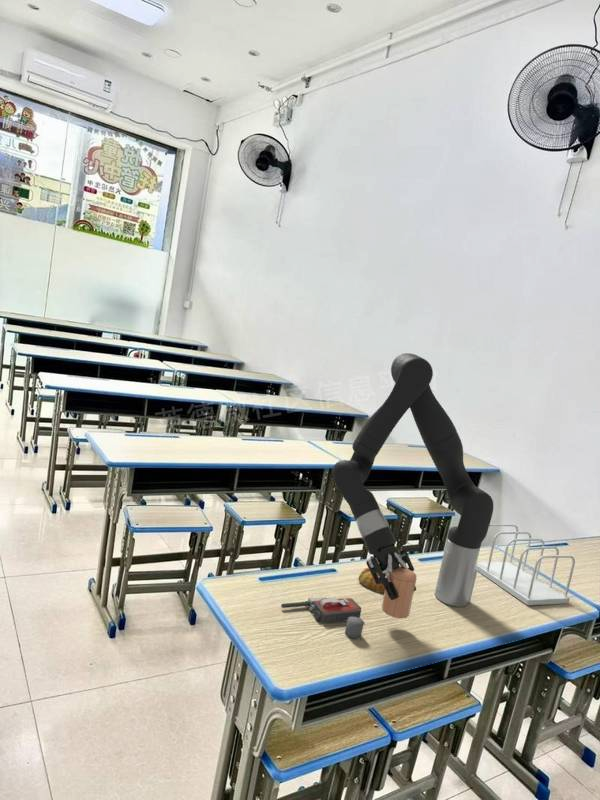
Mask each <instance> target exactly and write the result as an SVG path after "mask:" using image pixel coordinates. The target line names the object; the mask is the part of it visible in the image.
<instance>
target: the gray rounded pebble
mask: <svg viewBox="0 0 600 800" xmlns="http://www.w3.org/2000/svg"><path fill="white" fill-rule="evenodd" d="M364 624H365V623H364V621H363V619H361V617H360V618H358V617H349V618H348V620H347V621H346V626H345V631H344V634H345V636H346V637H347V638H349V639H351V640H359V639H362V633H363V628H364Z"/></svg>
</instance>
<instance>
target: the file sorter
mask: <svg viewBox="0 0 600 800" xmlns="http://www.w3.org/2000/svg"><path fill="white" fill-rule="evenodd" d="M489 527H514V528H515V530H516V531H499V532H497V533H496V534H495V535H494V537H493V538H492V539H493V540H492V544H491V548H490V552H489V558H488V561H477V564H476V568H475V570H476V571H477V573H480V574H481V575H483V576H484V577H486V578H487V579H489V580H490V581H491V582H493V583H495V584H496V585H497V586H498V587H500V588H502V589H503V590H505V591H506V592H507V593H509V594H510V595H512V596H513V597H515V598H516V599H518V600H519V601H521V602H522V603H524V604H525V605H526V606H537V605H538V606H540V605H556V604H558V605H560V604H569V603H570V597H569V596H568V593H569V589H570V584H571V581H572V577H573V573H574V568H575V564H576V559H575V557H574V556H572V555H566V554H565V555H562V554H560V551H559V548H558V547H557V546H555V545H551V546H545V542H544V540H543V539H542V538H532V534H531V533H530V532H528V531H519V526H517V525H516V524H514V523H513V524H512V523H508V524H507V523H490V525H489ZM514 534H515V536H514V538H513V539H511V540H509V541H508V543H507V544H506V546H505V549H504V554H503V555H504V556H503V561H492V557H493V554H494V553H493V552H494V548H495V543H496V539H497V537H499V536H500V535H514ZM519 534H520V535H523V534H524V535H527V536H528V538H518V536H519ZM534 541H535V542H537V541H540V542H541V544H542V545H541V546H534V547H533V546H530V545H531V543H532V542H534ZM517 542H528V543H527V546H526V548H525V549H523V550H522V552H521V553H520V556H519V560H518V565H516V564H515V563H514V562H512V561H513V557H514V552H515V547H516V545H517V544H516V543H517ZM512 543H513V545H512V549H511V553H510V557H509V561H506V560H507V556H508V555H507V554H508V551H509V546H510V545H511V544H512ZM546 549H547V550H548V549H549V550H551V549H555V552H556V553H555V555H554V554H553V555H552V554H551V555H549V554H548V555H545V554H544V550H546ZM529 550H540V555H539V557H538V558H537V559H536V560H535V565H534V567H533V573H532V574H531V573H530V572H528V571H526V570H525V569H526V563H527V559H528V555H529ZM543 554H544V555H543ZM524 555H525V556H524ZM523 558H524V560H523ZM545 558H546V559H549V558H550V559H554V563H553V568H552V573H551V577H550V578H551V579H550V583H549V584H548V583H545V581H543V580H542V579H539V577H538V576H539V572H540V570H541V569H540V568H541V563H542V561H543V559H545ZM559 558H560V559H561V558H563V559H564V558H565V559H567V558H569V559H571V560H572V564H571V567H570V571H569V576H568V580H567V583H566V587H565V590H564V591H565V593H562V592H560V590H558V589H555V588H554V587H552V586H553V583H554V578H555V572H556V569H557V563H558V559H559ZM522 561H523V564H522ZM521 565H522V567H521Z"/></svg>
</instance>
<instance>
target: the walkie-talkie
mask: <svg viewBox="0 0 600 800" xmlns="http://www.w3.org/2000/svg"><path fill="white" fill-rule="evenodd" d="M280 606H281V608H282V609H288V608H289V609H290V608H299V607H309V608H308V612H311V613H312V614H313V615H314V618H315V620H316V621H317V620H318V621H319V622H320V624H330V623H331V624H333V623H339V622H341V623H342V622H347V620H348V618H349V617H358V618H360V619H361V613H362V607H361V606H360V605H359V604H358V603H357V602H356V601H355V600H354V598H351V597H350V598H349V597H342V598H336V597H334V596H333V597H328V598H327V597H323V596H321V597H309V598H308V599H307V600H306V601H305V600H304V601H298V602H287V603H282V604H280Z"/></svg>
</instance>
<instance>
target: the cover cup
mask: <svg viewBox="0 0 600 800" xmlns="http://www.w3.org/2000/svg"><path fill="white" fill-rule="evenodd" d="M391 582H393V584H394V586H395V589H396V591H397V593H398V595H399V597H398V598H396V599H394V600H391V599H390V598H389V596H388V594H387V592H386V589H385V593H383V594H384V595H383V598H382V599H383V600H382V603H381V611H382V612H383V613H384V614H386V615H388V616H390V617H392V618H395V619H406V618H408V617H409V616H410V613H411V607H412V602H413V597H414V592H415V591H414V588H415V586H416V582H417V574H416V573H415V572H414V571H411V570H409V569H406V568H402V567H398V568H394V569H392V573H391Z"/></svg>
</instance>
